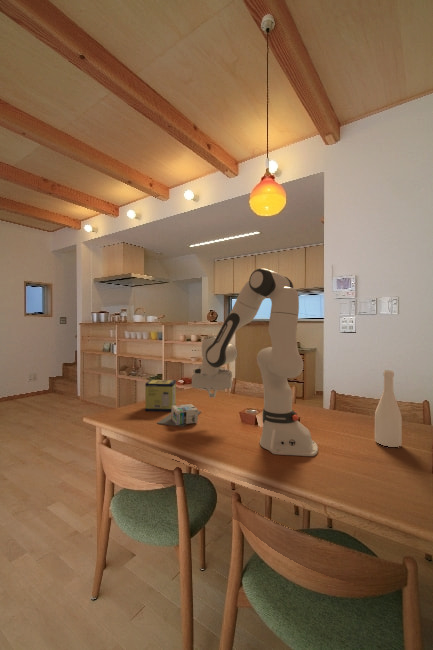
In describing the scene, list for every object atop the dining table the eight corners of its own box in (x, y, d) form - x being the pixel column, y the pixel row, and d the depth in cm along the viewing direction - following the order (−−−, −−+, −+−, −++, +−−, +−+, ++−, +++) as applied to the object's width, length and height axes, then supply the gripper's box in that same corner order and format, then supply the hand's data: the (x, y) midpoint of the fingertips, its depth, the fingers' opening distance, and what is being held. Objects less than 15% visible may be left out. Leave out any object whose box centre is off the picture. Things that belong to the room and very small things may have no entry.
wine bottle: (385, 438, 127) (386, 368, 127) (407, 446, 118) (407, 372, 118) (369, 441, 124) (370, 369, 123) (389, 450, 115) (390, 373, 115)
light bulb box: (198, 409, 143) (176, 411, 139) (198, 423, 143) (176, 425, 139) (191, 403, 153) (171, 405, 149) (191, 416, 153) (170, 418, 149)
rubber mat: (201, 412, 162) (201, 411, 162) (183, 426, 139) (183, 425, 139) (177, 409, 166) (177, 408, 166) (157, 423, 143) (157, 422, 143)
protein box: (149, 406, 173) (149, 379, 173) (176, 406, 173) (176, 379, 173) (144, 411, 163) (144, 383, 163) (172, 411, 162) (172, 383, 162)
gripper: (233, 368, 147) (234, 396, 147) (194, 368, 152) (195, 394, 152) (230, 370, 140) (231, 399, 141) (190, 370, 146) (191, 398, 146)
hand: (212, 397), depth 147 cm, fingers closed
